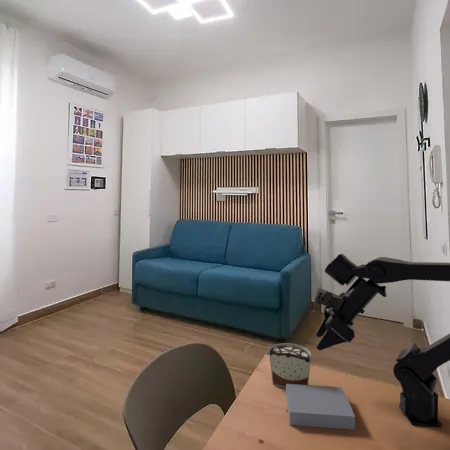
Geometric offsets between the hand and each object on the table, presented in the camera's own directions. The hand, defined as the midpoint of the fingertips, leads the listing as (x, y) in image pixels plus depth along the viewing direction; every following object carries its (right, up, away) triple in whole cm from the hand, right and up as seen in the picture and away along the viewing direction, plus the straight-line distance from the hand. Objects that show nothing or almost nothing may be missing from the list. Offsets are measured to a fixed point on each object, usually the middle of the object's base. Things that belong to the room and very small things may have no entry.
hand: (317, 342), depth 79 cm
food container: (-6, -13, +4) cm, 15 cm away
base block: (-2, -13, -8) cm, 16 cm away
